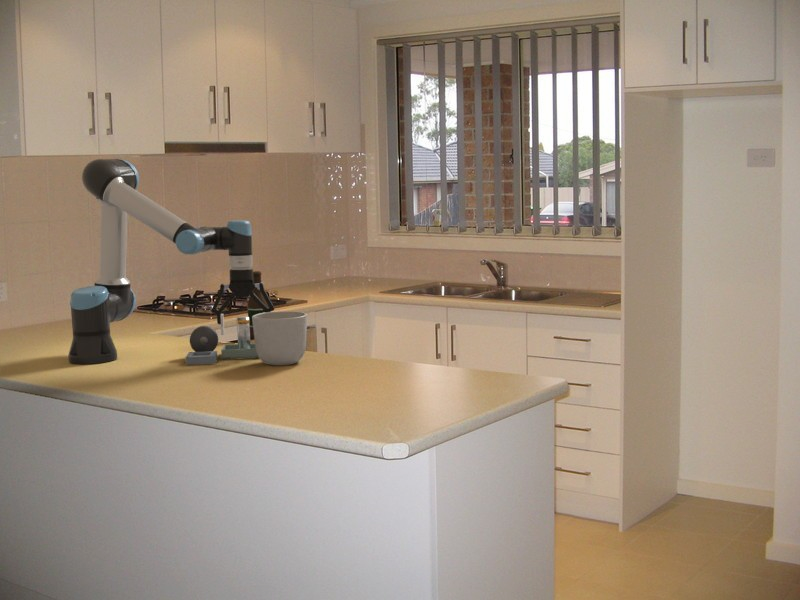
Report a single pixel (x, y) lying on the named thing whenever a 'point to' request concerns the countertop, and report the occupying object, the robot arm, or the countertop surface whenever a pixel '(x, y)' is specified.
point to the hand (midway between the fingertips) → (244, 333)
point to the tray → (238, 352)
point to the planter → (280, 336)
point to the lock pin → (243, 332)
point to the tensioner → (203, 346)
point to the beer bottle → (252, 305)
